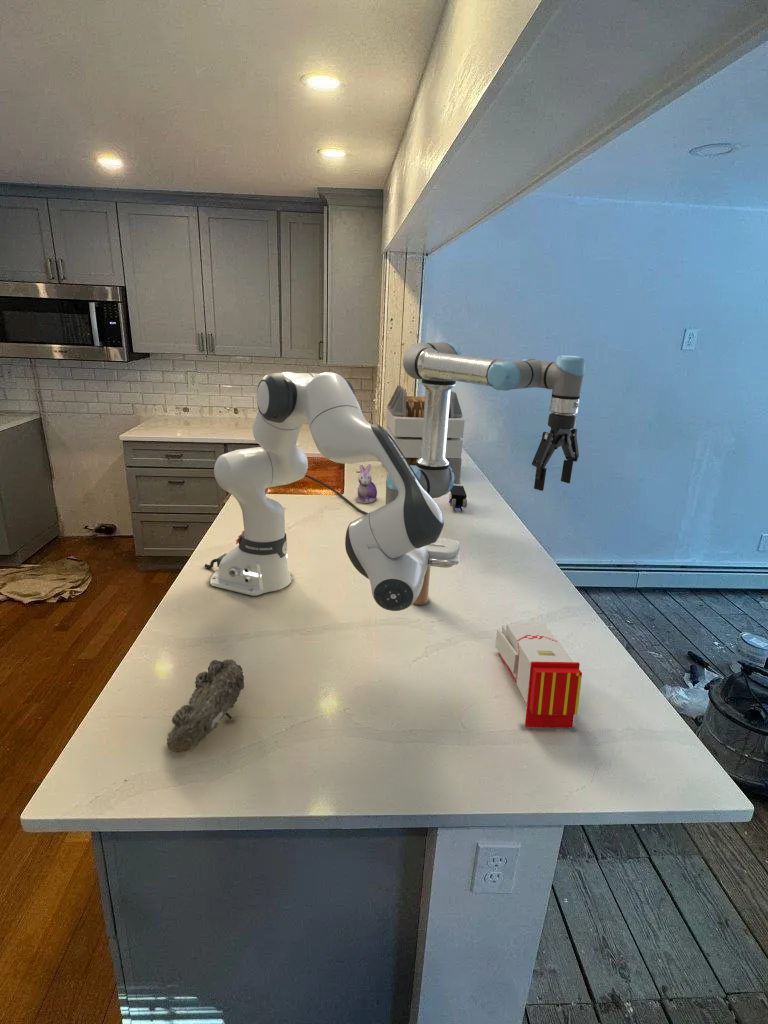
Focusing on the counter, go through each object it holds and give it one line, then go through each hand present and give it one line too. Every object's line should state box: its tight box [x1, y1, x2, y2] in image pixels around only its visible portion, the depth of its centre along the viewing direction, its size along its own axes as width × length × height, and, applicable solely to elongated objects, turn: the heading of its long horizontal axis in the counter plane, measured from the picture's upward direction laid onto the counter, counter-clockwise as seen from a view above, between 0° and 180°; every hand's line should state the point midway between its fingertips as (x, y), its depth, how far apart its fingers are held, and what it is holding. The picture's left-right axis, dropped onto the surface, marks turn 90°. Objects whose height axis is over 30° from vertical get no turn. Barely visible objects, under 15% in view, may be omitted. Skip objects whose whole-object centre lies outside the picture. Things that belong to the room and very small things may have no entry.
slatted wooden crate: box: [385, 384, 465, 484], centre depth 268 cm, size 34×33×41 cm
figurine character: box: [448, 484, 468, 512], centre depth 228 cm, size 7×8×15 cm
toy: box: [494, 623, 583, 729], centre depth 120 cm, size 12×13×30 cm
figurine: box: [356, 463, 378, 504], centre depth 230 cm, size 9×10×15 cm
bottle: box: [412, 566, 432, 606], centre depth 152 cm, size 5×5×18 cm
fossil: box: [166, 658, 245, 754], centre depth 106 cm, size 22×10×15 cm
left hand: (415, 534), depth 126 cm, fingers open, 8 cm apart
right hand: (552, 485), depth 166 cm, fingers open, 13 cm apart
